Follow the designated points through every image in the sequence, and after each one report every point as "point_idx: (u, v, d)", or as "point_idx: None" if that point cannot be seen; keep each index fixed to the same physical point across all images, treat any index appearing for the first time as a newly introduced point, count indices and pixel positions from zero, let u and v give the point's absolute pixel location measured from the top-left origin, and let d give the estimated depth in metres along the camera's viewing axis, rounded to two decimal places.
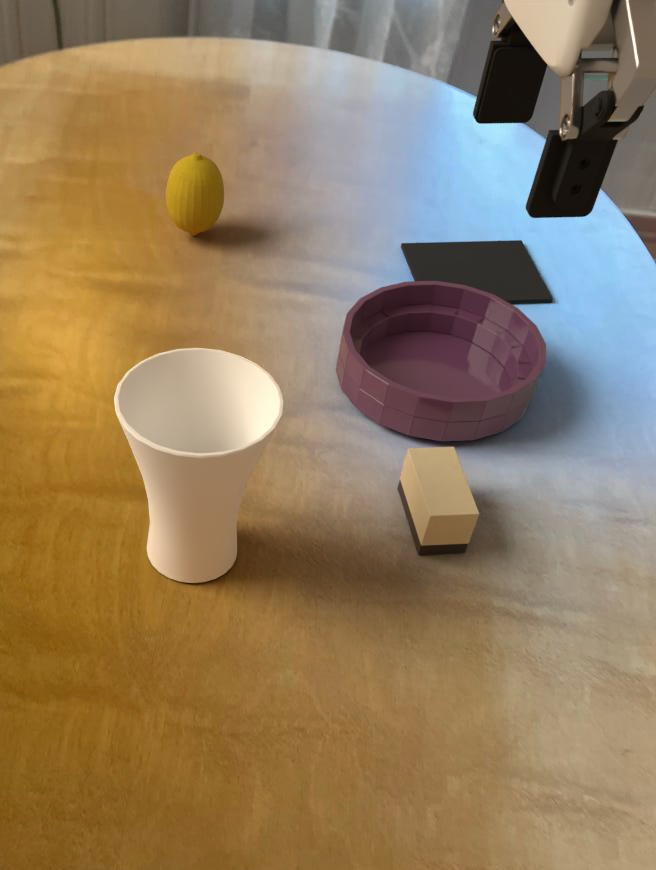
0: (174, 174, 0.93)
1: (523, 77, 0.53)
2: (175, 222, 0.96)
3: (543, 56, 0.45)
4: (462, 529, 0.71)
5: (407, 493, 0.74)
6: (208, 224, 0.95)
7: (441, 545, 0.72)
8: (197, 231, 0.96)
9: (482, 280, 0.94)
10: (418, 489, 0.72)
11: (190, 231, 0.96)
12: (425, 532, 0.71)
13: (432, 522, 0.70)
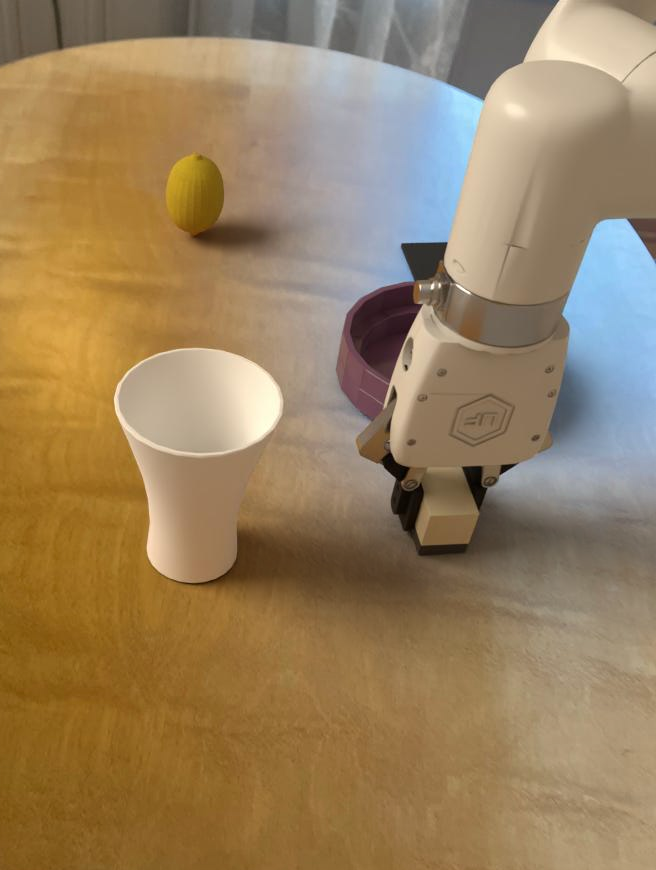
0: (174, 174, 0.93)
1: None
2: (175, 222, 0.96)
3: None
4: (462, 529, 0.71)
5: None
6: (208, 224, 0.95)
7: (441, 545, 0.72)
8: (197, 231, 0.96)
9: None
10: None
11: (190, 231, 0.96)
12: (425, 532, 0.71)
13: (432, 522, 0.70)
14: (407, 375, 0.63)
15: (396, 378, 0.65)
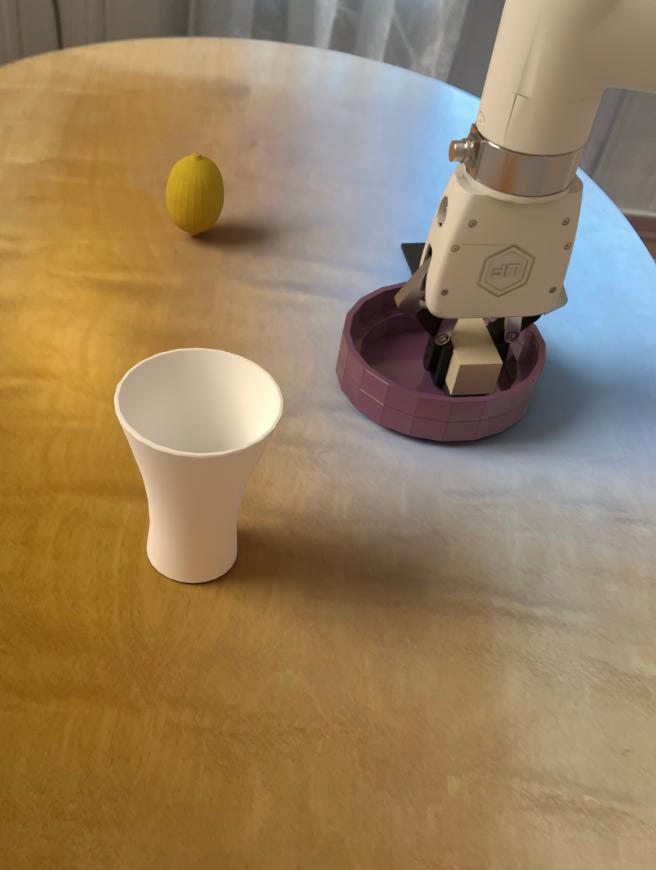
0: (174, 174, 0.93)
1: None
2: (175, 222, 0.96)
3: None
4: (487, 378, 0.80)
5: None
6: (208, 224, 0.95)
7: (468, 394, 0.81)
8: (197, 231, 0.96)
9: None
10: None
11: (190, 231, 0.96)
12: (455, 381, 0.80)
13: (461, 371, 0.79)
14: (442, 229, 0.72)
15: (431, 236, 0.74)
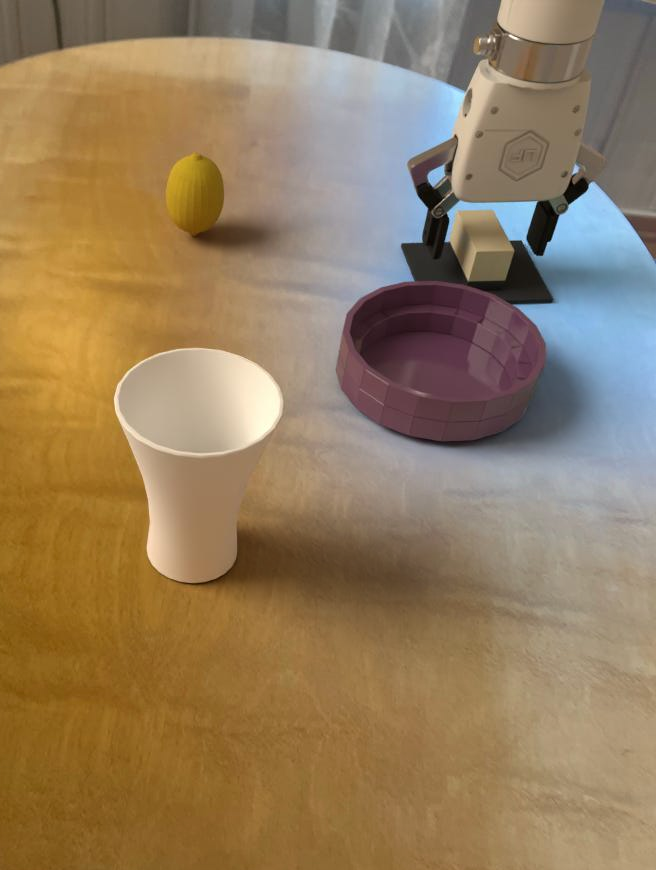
0: (174, 174, 0.93)
1: (539, 225, 0.91)
2: (175, 222, 0.96)
3: None
4: (500, 265, 0.91)
5: (456, 247, 0.94)
6: (208, 224, 0.95)
7: (483, 281, 0.92)
8: (197, 231, 0.96)
9: None
10: (466, 237, 0.92)
11: (190, 231, 0.96)
12: (472, 267, 0.91)
13: (478, 258, 0.90)
14: (467, 118, 0.82)
15: (457, 127, 0.84)
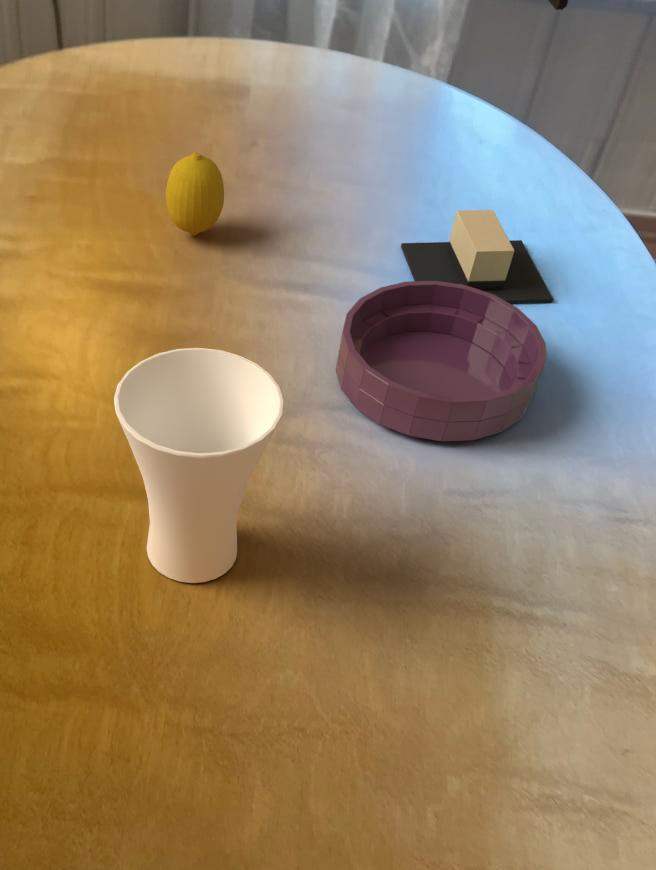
0: (174, 174, 0.93)
1: None
2: (175, 222, 0.96)
3: None
4: (500, 265, 0.91)
5: (456, 247, 0.94)
6: (208, 224, 0.95)
7: (483, 281, 0.92)
8: (197, 231, 0.96)
9: None
10: (466, 237, 0.92)
11: (190, 231, 0.96)
12: (472, 267, 0.91)
13: (478, 258, 0.90)
14: None
15: None
